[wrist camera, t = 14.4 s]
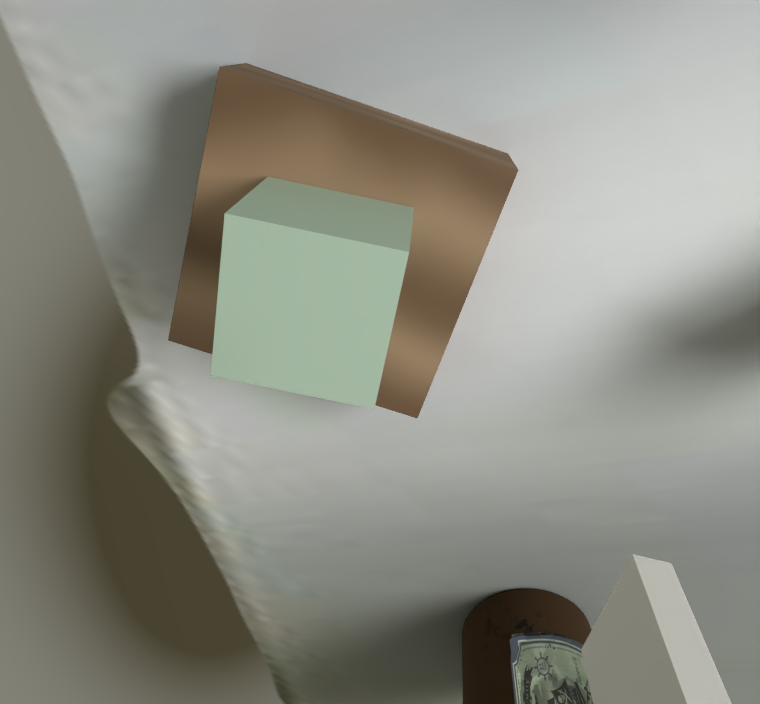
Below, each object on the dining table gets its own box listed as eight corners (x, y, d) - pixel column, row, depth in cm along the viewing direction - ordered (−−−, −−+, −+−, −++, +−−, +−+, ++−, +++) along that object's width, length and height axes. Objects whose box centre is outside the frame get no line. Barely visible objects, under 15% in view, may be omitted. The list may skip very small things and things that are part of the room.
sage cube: (267, 176, 30) (224, 213, 24) (414, 207, 31) (409, 251, 24) (252, 311, 34) (210, 375, 27) (385, 339, 34) (374, 409, 27)
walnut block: (248, 63, 33) (219, 66, 29) (507, 152, 34) (518, 169, 30) (198, 305, 39) (168, 340, 35) (419, 375, 40) (417, 418, 36)
